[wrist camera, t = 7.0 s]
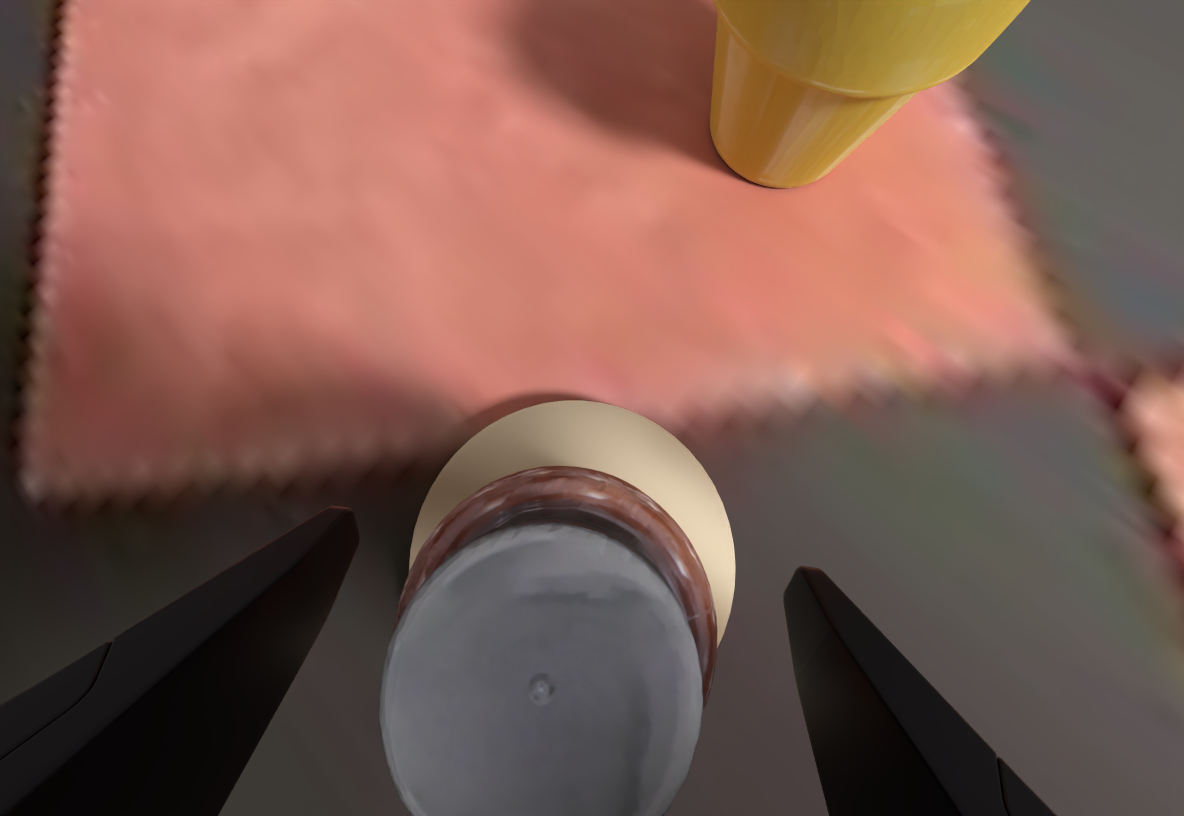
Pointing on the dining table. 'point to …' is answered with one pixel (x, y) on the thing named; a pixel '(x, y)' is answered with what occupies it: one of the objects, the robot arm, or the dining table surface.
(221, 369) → the dining table surface
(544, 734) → the supplement bottle
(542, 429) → the coaster
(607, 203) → the dining table surface
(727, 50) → the plant pot
